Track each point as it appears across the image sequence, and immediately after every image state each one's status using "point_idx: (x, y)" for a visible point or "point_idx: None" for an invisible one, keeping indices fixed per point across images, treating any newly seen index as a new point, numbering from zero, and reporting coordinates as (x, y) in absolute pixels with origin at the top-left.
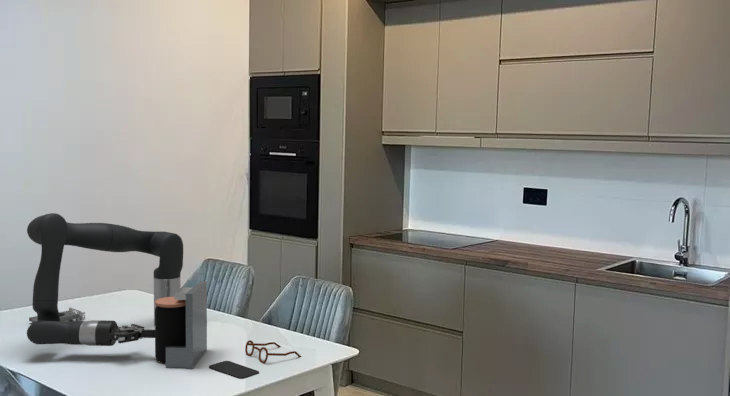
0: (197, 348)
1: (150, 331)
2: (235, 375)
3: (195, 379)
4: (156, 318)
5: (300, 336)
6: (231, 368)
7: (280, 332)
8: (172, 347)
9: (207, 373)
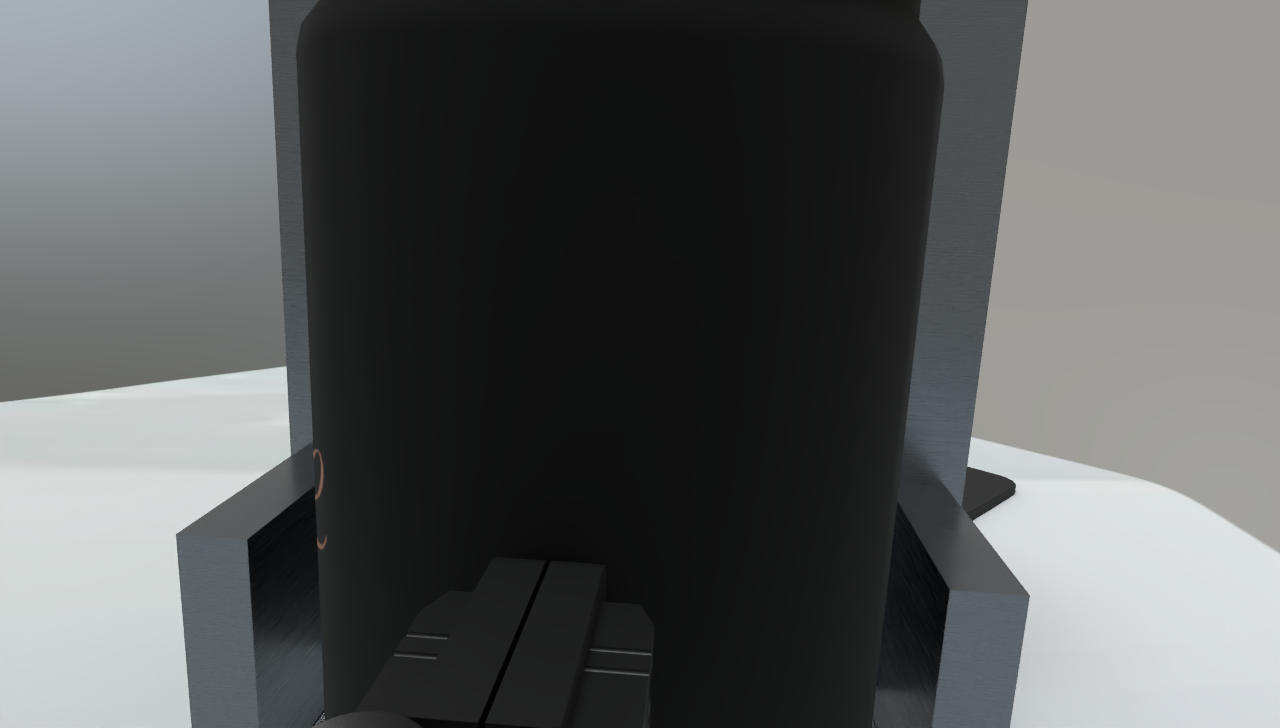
0: None
1: (588, 624)
2: (991, 493)
3: (1175, 628)
4: (848, 206)
5: (264, 374)
6: None
7: (120, 399)
8: (990, 551)
9: None
